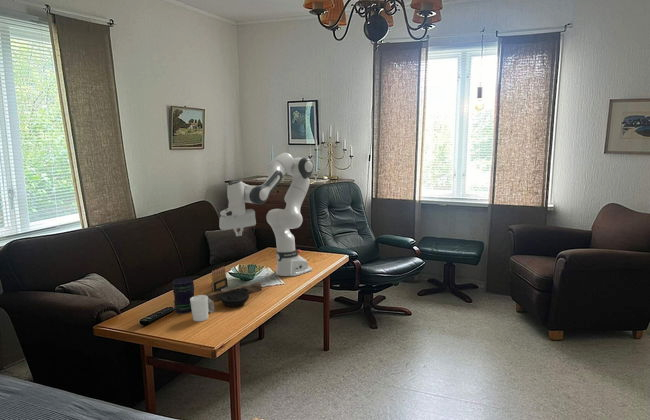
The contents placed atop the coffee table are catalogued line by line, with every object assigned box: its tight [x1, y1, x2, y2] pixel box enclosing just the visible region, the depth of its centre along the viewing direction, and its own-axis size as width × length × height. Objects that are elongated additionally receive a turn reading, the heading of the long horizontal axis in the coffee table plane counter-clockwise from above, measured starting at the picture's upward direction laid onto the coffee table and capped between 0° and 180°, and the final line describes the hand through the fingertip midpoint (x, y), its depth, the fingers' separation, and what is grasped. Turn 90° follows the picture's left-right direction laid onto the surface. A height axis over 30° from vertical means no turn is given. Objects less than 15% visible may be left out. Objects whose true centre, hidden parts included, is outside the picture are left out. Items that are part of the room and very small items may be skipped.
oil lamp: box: [219, 287, 250, 307], centre depth 222 cm, size 15×20×5 cm
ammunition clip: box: [211, 265, 229, 293], centre depth 243 cm, size 11×2×12 cm, turn 150°
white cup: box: [190, 294, 209, 322], centre depth 202 cm, size 8×8×10 cm
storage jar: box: [172, 276, 195, 315], centre depth 214 cm, size 10×10×15 cm
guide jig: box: [205, 281, 263, 314], centre depth 225 cm, size 34×15×5 cm, turn 125°
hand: (238, 235), depth 241 cm, fingers closed
